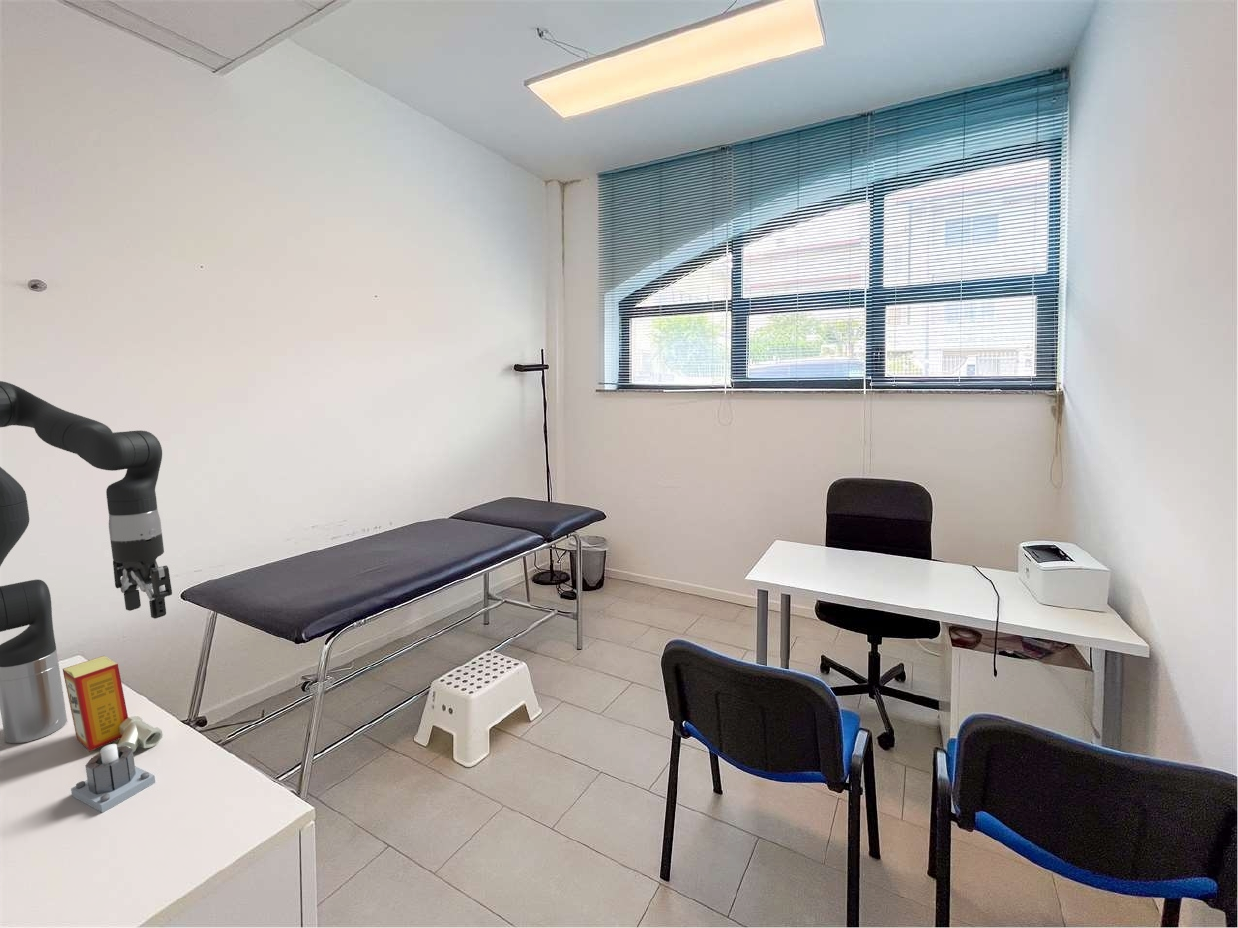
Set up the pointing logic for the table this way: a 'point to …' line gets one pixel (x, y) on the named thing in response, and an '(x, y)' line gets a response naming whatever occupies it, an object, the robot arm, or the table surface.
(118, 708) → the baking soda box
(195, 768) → the table surface
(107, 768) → the hub
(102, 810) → the mounting base with peg
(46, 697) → the robot arm
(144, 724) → the pipe fitting
